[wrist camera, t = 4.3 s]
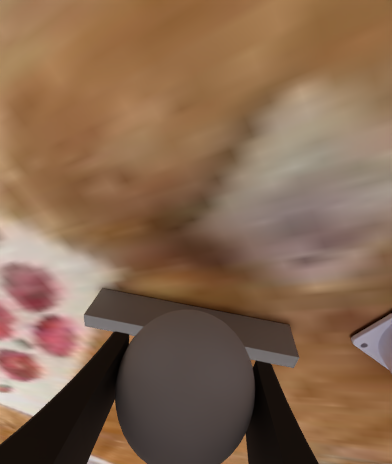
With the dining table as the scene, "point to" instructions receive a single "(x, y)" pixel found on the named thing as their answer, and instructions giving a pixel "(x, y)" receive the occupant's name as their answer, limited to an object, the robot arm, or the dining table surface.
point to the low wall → (146, 309)
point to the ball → (185, 390)
